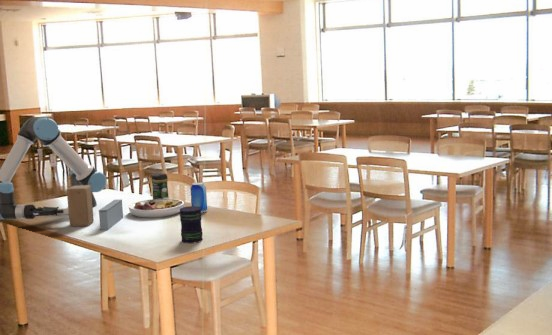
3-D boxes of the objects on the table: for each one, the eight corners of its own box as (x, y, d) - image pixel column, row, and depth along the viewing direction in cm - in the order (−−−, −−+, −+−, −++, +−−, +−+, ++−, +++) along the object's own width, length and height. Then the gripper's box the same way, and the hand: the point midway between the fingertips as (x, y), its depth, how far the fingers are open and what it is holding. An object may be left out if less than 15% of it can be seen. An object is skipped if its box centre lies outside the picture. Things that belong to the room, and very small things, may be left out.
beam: (115, 218, 355) (114, 199, 353) (123, 217, 354) (121, 199, 353) (100, 230, 329) (98, 210, 328) (108, 229, 329) (106, 210, 327)
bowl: (142, 206, 382) (141, 193, 381) (191, 207, 376) (190, 193, 375) (120, 219, 353) (119, 204, 352) (172, 219, 347) (172, 205, 346)
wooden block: (88, 226, 338) (85, 188, 335) (69, 227, 338) (65, 188, 335) (94, 221, 348) (91, 184, 345) (75, 222, 348) (72, 185, 345)
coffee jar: (150, 204, 388) (148, 173, 385) (162, 201, 394) (159, 171, 391) (160, 206, 381) (158, 174, 379) (171, 203, 387) (169, 172, 384)
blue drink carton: (189, 213, 360) (187, 184, 357) (196, 209, 367) (195, 181, 365) (202, 214, 357) (201, 185, 354) (210, 210, 364) (208, 182, 362)
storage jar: (202, 242, 299) (200, 210, 296) (180, 243, 298) (178, 211, 296) (203, 236, 309) (201, 205, 306) (182, 238, 308) (180, 206, 306)
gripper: (32, 216, 350) (75, 215, 349) (21, 221, 337) (66, 220, 336) (30, 202, 349) (74, 201, 347) (19, 207, 336) (64, 206, 335)
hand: (70, 210), depth 342 cm, fingers closed
